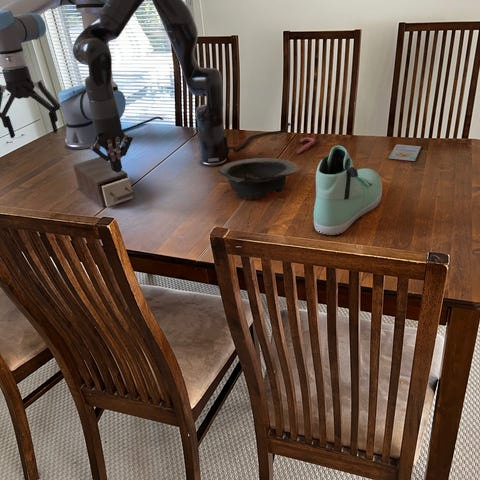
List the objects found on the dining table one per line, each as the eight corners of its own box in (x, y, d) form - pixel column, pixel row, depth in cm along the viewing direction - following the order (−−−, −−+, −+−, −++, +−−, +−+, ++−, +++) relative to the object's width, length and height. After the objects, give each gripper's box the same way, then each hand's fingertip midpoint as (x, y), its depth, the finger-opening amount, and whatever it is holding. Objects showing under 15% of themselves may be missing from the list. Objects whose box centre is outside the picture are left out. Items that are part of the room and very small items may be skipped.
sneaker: (389, 187, 148) (396, 123, 138) (356, 242, 123) (361, 168, 112) (346, 181, 154) (350, 119, 144) (306, 232, 129) (307, 161, 118)
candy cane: (285, 152, 180) (284, 148, 179) (304, 139, 190) (304, 135, 189) (299, 154, 177) (299, 151, 176) (318, 141, 187) (318, 137, 186)
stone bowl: (243, 213, 140) (240, 183, 136) (209, 189, 160) (205, 162, 156) (313, 190, 149) (312, 161, 144) (272, 170, 169) (270, 144, 165)
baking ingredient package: (388, 157, 167) (396, 143, 178) (388, 158, 167) (396, 144, 179) (414, 160, 163) (421, 145, 175) (414, 161, 164) (421, 147, 175)
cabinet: (132, 197, 156) (127, 173, 151) (103, 207, 151) (96, 182, 146) (106, 179, 170) (101, 156, 166) (79, 187, 165) (72, 164, 161)
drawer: (142, 203, 149) (138, 184, 146) (115, 213, 145) (111, 193, 141) (108, 180, 167) (104, 162, 163) (84, 188, 162) (79, 170, 159)
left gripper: (-33, 73, 142) (-9, 142, 153) (54, 65, 145) (71, 133, 156) (-25, 68, 148) (-2, 135, 159) (58, 60, 151) (74, 126, 162)
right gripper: (87, 122, 128) (101, 181, 137) (132, 111, 134) (143, 168, 143) (77, 116, 133) (91, 174, 142) (120, 106, 139) (132, 161, 148)
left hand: (34, 134), depth 157 cm, fingers open, 13 cm apart
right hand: (117, 171), depth 143 cm, fingers closed
